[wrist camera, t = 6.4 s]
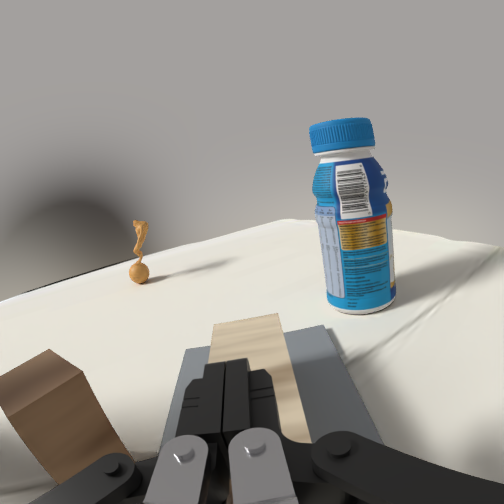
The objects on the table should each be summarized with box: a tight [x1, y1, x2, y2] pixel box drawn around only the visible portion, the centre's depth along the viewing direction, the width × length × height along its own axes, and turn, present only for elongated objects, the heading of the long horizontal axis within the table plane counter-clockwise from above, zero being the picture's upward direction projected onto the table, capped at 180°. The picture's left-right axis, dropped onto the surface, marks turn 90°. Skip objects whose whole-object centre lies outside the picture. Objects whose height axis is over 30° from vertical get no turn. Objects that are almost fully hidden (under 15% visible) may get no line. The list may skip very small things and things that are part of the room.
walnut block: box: [0, 349, 135, 485], centre depth 14 cm, size 5×5×9 cm
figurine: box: [129, 220, 149, 283], centre depth 58 cm, size 8×6×12 cm
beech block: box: [208, 313, 312, 504], centre depth 18 cm, size 5×5×14 cm
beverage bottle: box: [309, 118, 396, 314], centre depth 33 cm, size 8×8×20 cm
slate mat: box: [158, 325, 384, 456], centre depth 22 cm, size 18×14×1 cm
